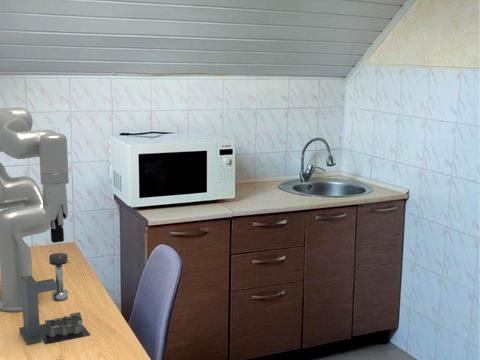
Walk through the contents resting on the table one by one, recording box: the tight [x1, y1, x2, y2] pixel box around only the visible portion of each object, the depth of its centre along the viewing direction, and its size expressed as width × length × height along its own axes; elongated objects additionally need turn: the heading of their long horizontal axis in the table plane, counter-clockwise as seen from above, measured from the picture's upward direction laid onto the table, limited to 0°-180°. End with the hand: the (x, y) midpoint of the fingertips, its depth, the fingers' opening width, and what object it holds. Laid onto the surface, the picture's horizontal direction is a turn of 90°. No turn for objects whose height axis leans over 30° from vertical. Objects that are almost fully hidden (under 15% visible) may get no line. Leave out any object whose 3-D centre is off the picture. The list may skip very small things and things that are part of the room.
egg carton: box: [44, 311, 84, 337], centre depth 197 cm, size 11×8×4 cm
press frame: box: [18, 274, 91, 346], centre depth 195 cm, size 14×18×17 cm
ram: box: [48, 252, 69, 303], centre depth 194 cm, size 5×5×13 cm
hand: (57, 241), depth 192 cm, fingers closed
